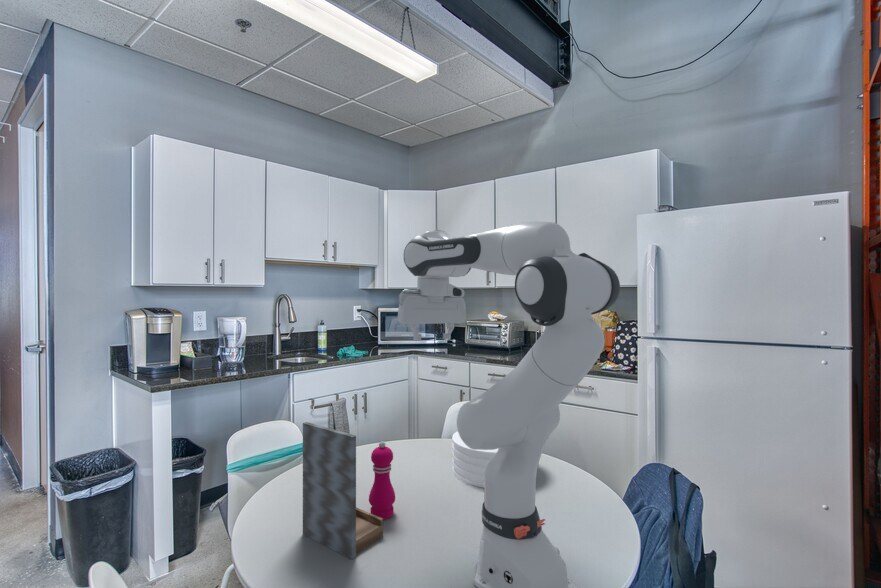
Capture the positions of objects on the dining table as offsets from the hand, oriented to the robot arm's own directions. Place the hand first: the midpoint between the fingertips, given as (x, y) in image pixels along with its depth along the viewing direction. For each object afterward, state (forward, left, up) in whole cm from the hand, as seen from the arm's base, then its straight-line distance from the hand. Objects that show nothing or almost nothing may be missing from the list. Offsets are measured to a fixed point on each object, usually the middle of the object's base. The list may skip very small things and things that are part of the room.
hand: (432, 340), depth 123 cm
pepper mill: (+7, +12, -48) cm, 50 cm away
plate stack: (+13, -33, -48) cm, 60 cm away
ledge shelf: (+2, +24, -48) cm, 54 cm away
